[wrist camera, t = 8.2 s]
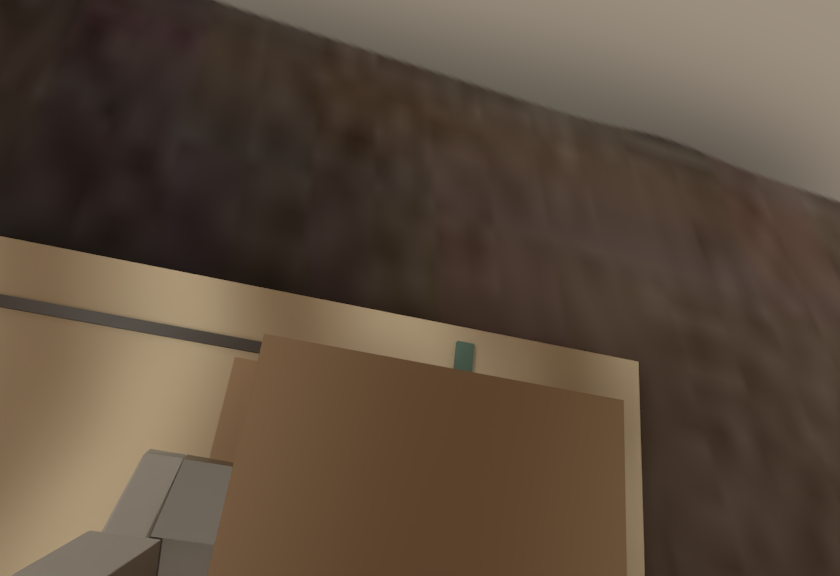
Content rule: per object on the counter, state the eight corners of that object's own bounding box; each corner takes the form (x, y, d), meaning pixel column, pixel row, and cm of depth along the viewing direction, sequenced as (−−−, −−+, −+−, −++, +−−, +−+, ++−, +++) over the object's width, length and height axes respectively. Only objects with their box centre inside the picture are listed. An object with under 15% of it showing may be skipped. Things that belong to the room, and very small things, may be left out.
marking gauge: (156, 734, 12) (-255, 1433, 3) (245, 368, 16) (216, 46, 6) (401, 753, 13) (811, 1345, 3) (438, 402, 16) (707, 171, 6)
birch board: (-485, 848, 11) (-768, 961, 8) (-140, 229, 17) (-231, 155, 14) (619, 894, 15) (715, 984, 12) (613, 374, 20) (677, 341, 17)
